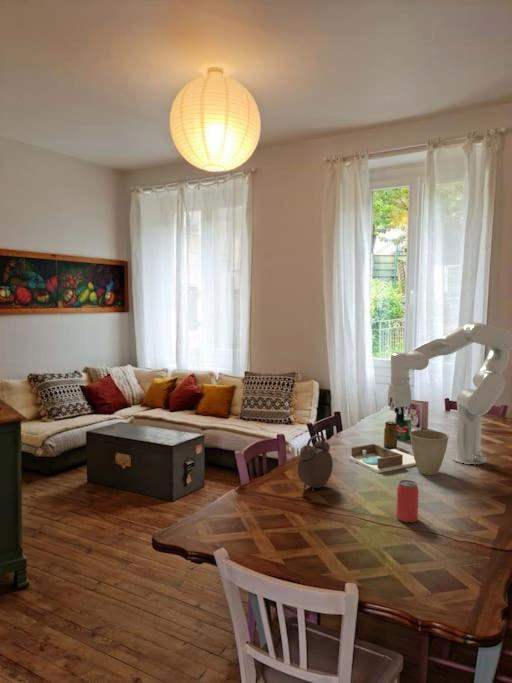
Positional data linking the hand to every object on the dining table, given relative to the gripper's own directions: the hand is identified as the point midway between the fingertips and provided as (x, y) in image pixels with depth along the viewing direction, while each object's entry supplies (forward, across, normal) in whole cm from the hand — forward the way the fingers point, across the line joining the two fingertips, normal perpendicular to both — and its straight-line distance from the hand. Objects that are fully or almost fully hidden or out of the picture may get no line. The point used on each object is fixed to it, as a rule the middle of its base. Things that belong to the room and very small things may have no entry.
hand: (400, 422), depth 222 cm
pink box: (+18, -47, -36) cm, 62 cm away
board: (+17, +7, -1) cm, 18 cm away
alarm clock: (+16, +52, +10) cm, 56 cm away
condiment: (+17, -9, -16) cm, 25 cm away
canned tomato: (+17, -24, -24) cm, 38 cm away
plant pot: (+17, +2, +17) cm, 25 cm away
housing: (+15, +13, -1) cm, 20 cm away
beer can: (+17, +41, +46) cm, 64 cm away
